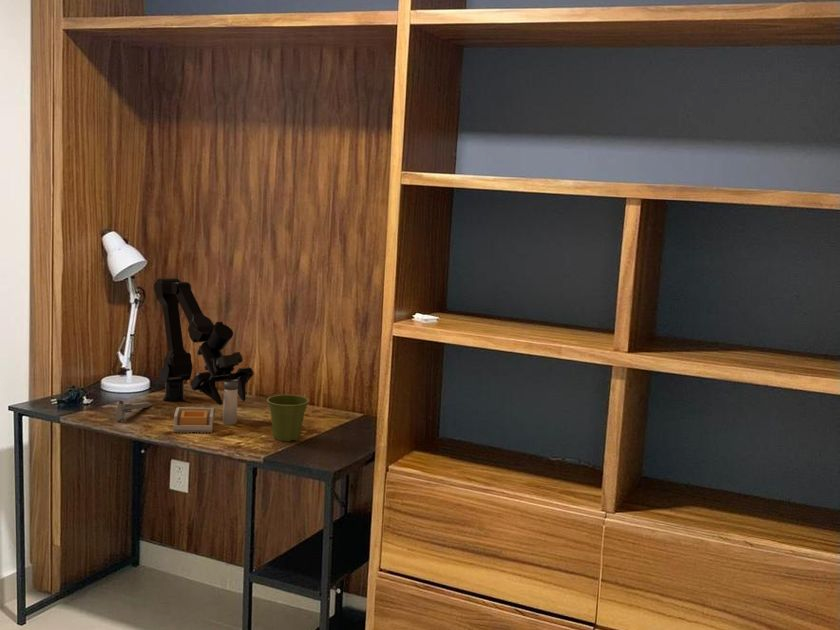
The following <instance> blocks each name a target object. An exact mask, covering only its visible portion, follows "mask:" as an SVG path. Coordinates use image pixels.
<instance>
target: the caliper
mask: <svg viewBox="0 0 840 630" xmlns="http://www.w3.org/2000/svg"><path fill="white" fill-rule="evenodd" d="M125 402H126V401H125V400H123V399H121V400H118V404H117V408H116V421H117V422H121V421H124V420H125V416H126V413H131V412H132V410H139V409H146V408H149V407H151V406H153V403H151V402H140V403H132V402H126V403H125Z"/></svg>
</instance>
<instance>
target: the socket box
mask: <svg viewBox="0 0 840 630" xmlns="http://www.w3.org/2000/svg"><path fill="white" fill-rule="evenodd" d="M214 409H215V408H214V407H187V406H185V407H183V406H181V407H178V406H176V409H175V412H174V415H173V429H172V430H173V432H172V433H174V434H177V433H178V432H180V434H182V432H183V433H184V434H185V432H186V433H187V434H189V432H191V434H192V432H195V433H194V434H198V433H199V432H200V433H199V434H212V433H213V428H214V427H213V426H214V417H215V414H214V413H215V412H214V411H215V410H214ZM175 432H177V433H175ZM196 432H197V433H196ZM203 432H204V433H203ZM206 432H207V433H206ZM209 432H210V433H209ZM178 434H179V433H178Z"/></svg>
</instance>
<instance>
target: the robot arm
mask: <svg viewBox="0 0 840 630" xmlns="http://www.w3.org/2000/svg"><path fill="white" fill-rule="evenodd" d="M153 291H154V294H155V297H156V300H157V301H158V302H159V304H160V305H161V306H162V311H163V320H164V328H165V336H166V346H167V352H166V354H165V357H164V359H163V364H164V365H163V367H162V368H161V369H160V371H159V373H158V378H159V381H161V382H164V383H165V385H164V386H165V393H164V396H163V397H162V400H163V401H167V402H168V401H169V402H170V401H176V402H178V401H180V402H183V401H185V399H186V394H184V387H185V385H184V384H185V381H190V380H191V378H192V373H193V369H194V368H193V362H192V355H191V353H190V352H187V351H186V349H185V347H184V340H183V339H184V338H183V332H182V326H181V325H182V324H181V323H182V322H181V317H180V308H179V305H180V307H181V309H182V311H183V313H184V315H185V318H186V319H187V321H188V324H189V325H188V326H187V327H188V328H187V332H188V335H189V338H190V340H191V341H192V342H193V343H199V344H200V343H202V344H200V345H199V347H198V349H197V356H202V359H203V361H204V363H205V367H204V369H205V372H204V371H203V372H197V373H196V374H195V375H194V377H193V378H192V380H191V382H190V387H191V389H192V390H193V391H199V392H200V393H203V394H204V395H206V396H208V397H209V398H211V399H212V400H213V401H215V403H216V404H218V405H220V406H221V405H222V404H223V400H222V397H221V395H220V393H219V391H218V389H217V386H216V383H219V382H220V383H221V382H224V381H228V380H233V381H238V397H239V399H241V400H242V402H245V401H246V400H247V399H246V398H247V397H246V384H247V383H248V382H249V381H250V380H251V379H252V377H253V376H254V374H255V373H254V370H253V369H252V367H249V366H246V367H239V368H238V369H237V370H236V372H234V373H232V372H233V371H234V369H235V368H234V367H236V366H239V365H240V364H241V363H242V362H244V361H243V356H242V354H241V351H236V352H234V353H232V354H226V355H223V351H222V350H224V349H225V348H226V347H227V345H228V343H230V341H231V340H232V338H233V336H234V331H233V329H232V328H231V327H230V326H229V325H226V324H224V323H223V321H215V323H213V321H212V320H211V318H209V317H207V316H206V315H205V314H204V313H203V311H202V309H201V307H200V305H199V302H198V301H197V299H196V297H195V295H194V293H193V291H192V286H191V283H190V282H189V281H181V280H180V279H179V278H177V277H169V278H167V277H166V278H165V277H164V278H161V277H160V278H158V279H156V281H155V282H154V284H153Z"/></svg>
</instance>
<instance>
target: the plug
mask: <svg viewBox="0 0 840 630" xmlns="http://www.w3.org/2000/svg"><path fill="white" fill-rule="evenodd" d="M238 397H239V395H238V381H233V380H228V381H223V400H222V404H223V405H222V424H223V425H225V424H226V426H233V425H236V424H237V423H238V422H237V419H238V417H237V416H238Z"/></svg>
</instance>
